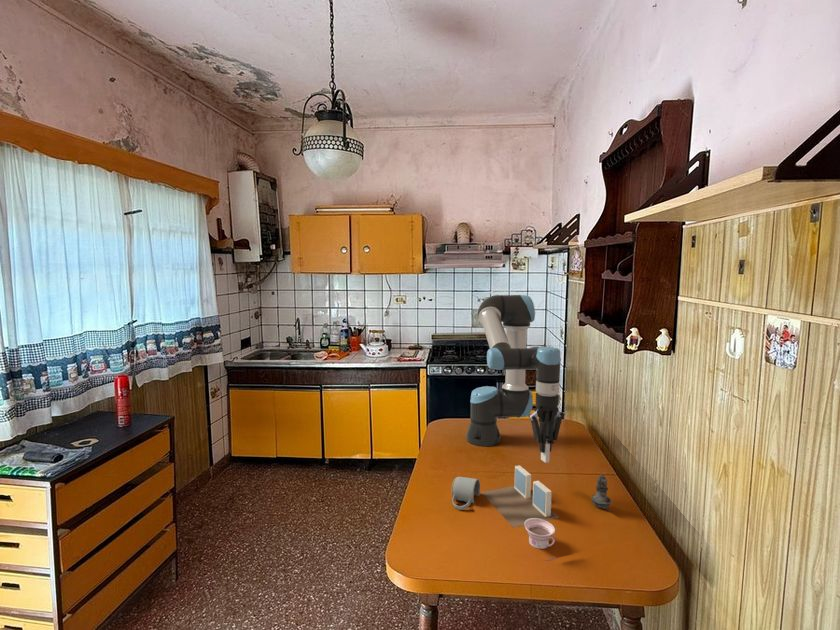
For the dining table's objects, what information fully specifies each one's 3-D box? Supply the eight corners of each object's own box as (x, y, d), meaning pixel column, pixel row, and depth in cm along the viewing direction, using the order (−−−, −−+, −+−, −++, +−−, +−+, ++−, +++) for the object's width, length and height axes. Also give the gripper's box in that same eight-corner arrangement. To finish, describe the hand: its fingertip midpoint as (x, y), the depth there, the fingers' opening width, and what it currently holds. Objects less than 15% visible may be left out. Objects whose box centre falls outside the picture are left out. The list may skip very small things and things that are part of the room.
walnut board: (480, 495, 146) (480, 491, 146) (521, 487, 151) (521, 484, 151) (513, 531, 126) (513, 527, 126) (559, 521, 132) (559, 517, 131)
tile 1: (514, 488, 148) (514, 466, 148) (518, 487, 149) (519, 465, 148) (525, 498, 142) (526, 475, 141) (530, 497, 143) (531, 474, 142)
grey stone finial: (586, 506, 139) (588, 471, 138) (600, 503, 142) (602, 468, 140) (600, 516, 134) (602, 480, 133) (614, 512, 136) (616, 476, 135)
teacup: (508, 545, 120) (508, 524, 120) (533, 528, 128) (534, 509, 127) (545, 568, 111) (546, 546, 111) (570, 548, 119) (571, 527, 118)
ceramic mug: (457, 491, 148) (457, 470, 147) (480, 496, 145) (480, 475, 144) (446, 508, 139) (446, 485, 138) (471, 513, 136) (471, 491, 135)
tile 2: (532, 505, 138) (532, 481, 137) (537, 504, 139) (538, 480, 138) (545, 517, 132) (546, 492, 131) (550, 515, 132) (551, 491, 131)
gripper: (537, 398, 139) (534, 468, 141) (570, 394, 143) (568, 462, 145) (524, 392, 146) (522, 459, 148) (556, 388, 150) (554, 453, 152)
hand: (545, 460), depth 147 cm, fingers closed
